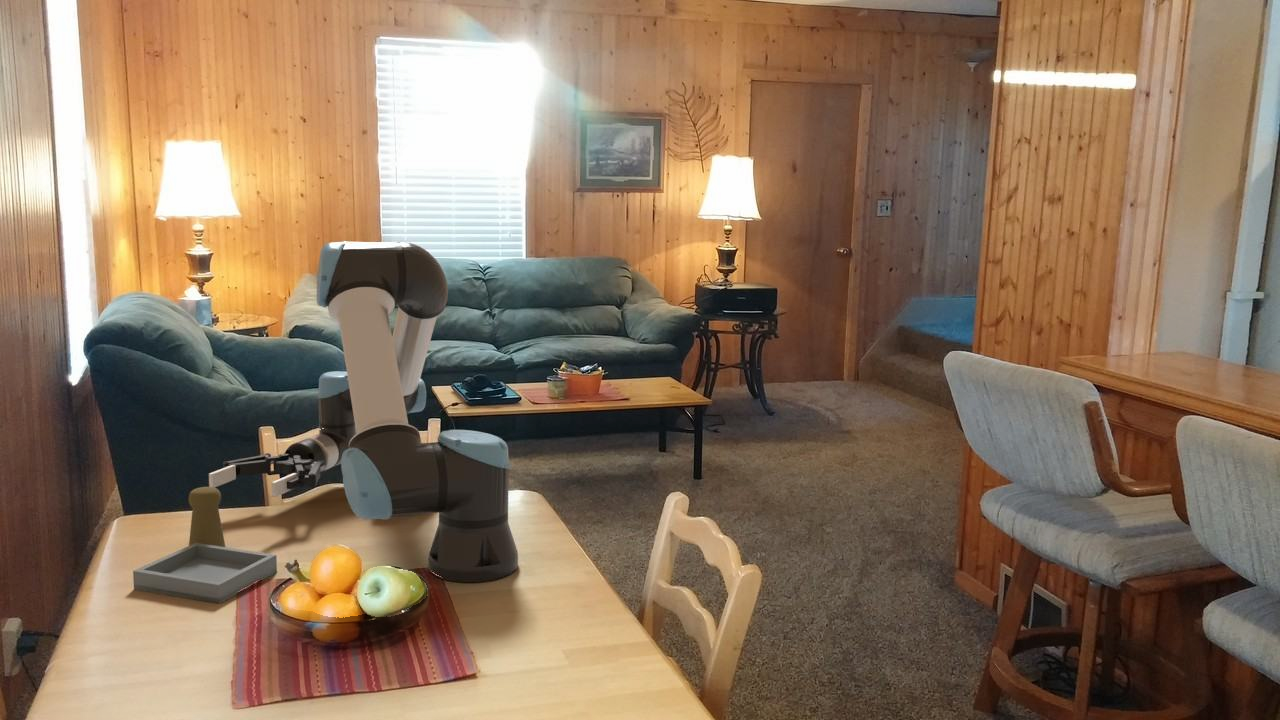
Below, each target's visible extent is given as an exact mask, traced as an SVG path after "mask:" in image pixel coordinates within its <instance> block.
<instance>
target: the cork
mask: <svg viewBox="0 0 1280 720" xmlns="http://www.w3.org/2000/svg"><path fill="white" fill-rule="evenodd" d="M221 501H222V494H221V491H220V490H219V489H218V488H216V487H215V488H214V487H209V486H201V487H197V488H194V489H192V490H191V491H190V493H189V495H188V503H189V504H188V505H189V506H190V507H191V508H192V511H191V521H190V529H189V530H190V531H189V540H188V546H190V545H192V544H194V543H200V544H207V545H214V546H220V547H226V544H225V543H226V542H225V538H224V537H225V536H224V531H223V527H222V521H221V517H220V515H221V514H220V511H219V505H220V503H221Z"/></svg>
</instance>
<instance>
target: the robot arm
mask: <svg viewBox="0 0 1280 720" xmlns="http://www.w3.org/2000/svg"><path fill="white" fill-rule="evenodd" d="M316 280H317V281H316V303H317V306H319V307H322V308H327V311H328V315H329V317H331V319H332V320H333V321H334V322H336V323H338V324H339V330H340V336H341V341H342V342H341V343H342V349H343V350H342V351H343V356H344V357H343V358H344V361H345V368H346V371H340V370H336V371H327V372H323V373H322V374H321V375H320V377H319V378H318V394H317V398H318V418H319V419H318V434H315V435H313V436H309V437H307V438H305V439H302V440H299V441H297V442H293V443H292V444H290V445H289V446H288V447H287V449H286V450H285V452H284V453H281V454H278V455H276V456H275V455H274V456H272V455H271V453H268V452H267V453H264V454H260V455H256V456H251V457H244V458H238V459H233V460H228V461H227V460H225V461H223V462H222V463H223V464H222V465H223V468H221V469H217V470H215V471H212V472H210V473H208V487H214V488H216V487H219V486H223V485H224V484H227V483H229V482H234V480H236V479H237V478H239V477H247V476H248V477H249V476H255V475H263V474H266V475H267V476H275V475H282V476H283V475H284V477H281V478H279V479H277V480H273V481H272V482H271V497H273V498H277V497H279V496H281V495H284V494H285V493H287V492H290V491H293V490H294V489H296V488H298V487H300V488H304V487H306V485H308V487H309V488H315V487H316V486H317V484H318V482H319V479H320V478H321V476H323V475H325V474H326V471H327V470H329V469H331V468H333V467H336V466H338V465H340V468H341V469H340V470H341V475H342V482H343V483H342V485H343V488H344V492H345V496H346V499H347V502H348V505H349V508H351V511H352V512H353V513H354V514H355V515H356V516H357V517H358V518H360V519H362V520H366V521H367V520H380V519H381V520H384V521H385V520H389V519H392V518H393V519H394V518H395V519H396V518H403V517H410V516H411V517H412V516H418V515H419V516H420V515H427V514H428V515H429V514H437V513H438V525H437V529H436V531H435V534H434V538H433V540H432V542H431V543H432V544H431V547H430V550H429V553H428V568H427V569H428V570H429V569H430V570H431V571H432V572H434V573H435V574H437V575H439V576H441V577H442V578H443V579H442V578H441V579H442V580H446V581H451V582H457V583H483V582H489V581H495V580H499V579H502V578H505V577H507V576H509V575H508V574H510V573H511V572H513V571H514V570H515V569H516V568H517V569H518V567H519V553H518V549H517V545H516V542H515V540H514V537H513V534H512V530H511V528H510V525H509V478H510V477H509V476H510V475H509V474H510V472H509V471H510V469H511V468H510V467H511V465H510V460H509V447H508V444H507V442H506V441H505V440H503V438H501V437H499V436H497V435H494V434H491V433H487V432H482V431H477V430H469V429H468V430H467V429H448V430H443V431H441V432H440V433H439V435H438V436H437V441H434V442H422V440H421V439H422V438H421V434H420V431H419V430H418V428H416V427H415V426H413V425H412V424H409V421H408V420H409V419H408V414H411V413H418V412H419V413H420V412H422V411H423V410H424V409H425V407H426V406H427V405H426V403H427V389H426V384H425V382H424V380H423V379H422V378H421V377H422V373H423V369H424V367H425V364H426V363H425V362H426V358H427V355H428V352H429V347H430V344H431V339H432V335H433V333H434V329H435V325H436V321H437V318H438V317H439V316H441V314H443V312H444V310H445V309H446V304H447V301H448V297H449V296H448V293H449V288H448V281H447V278H446V275H445V272H444V270H443V268H442V266H441V264H440V263H439V262H438V260H437V259H436V258H435V257H434V256H433V255H432V254H430V252H429V251H428V250H426V249H425V248H423V247H421V246H419V245H418V244H414V243H412V242H406V241H397V242H389V241H386V242H385V241H383V242H382V241H380V242H379V241H378V242H377V241H376V242H375V241H369V242H368V241H348V240H344V241H337V242H335V241H334V242H333V241H332V242H327V243H325V244H324V245H323V246H322V247H321V249H320V252H319V260H318V269H317V277H316ZM395 306H396V307H398V309H397V315H396V318H395V322H394V327H393V332H392V329H391V323H390V317H389V316H390V315H391V314H392V313H393V311H394V310H395ZM322 428H324V429H322ZM319 429H321V430H319ZM272 466H273V470H271V469H272V468H271V467H272ZM285 475H286V476H285ZM517 566H518V567H517ZM517 569H516V570H517ZM516 570H515V571H516ZM515 571H514V572H515ZM514 572H513V573H514ZM511 574H512V573H511ZM511 574H510V575H511ZM506 575H507V576H506ZM504 576H505V577H504ZM501 577H502V578H501ZM498 578H499V579H498Z"/></svg>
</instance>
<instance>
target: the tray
mask: <svg viewBox="0 0 1280 720" xmlns="http://www.w3.org/2000/svg"><path fill="white" fill-rule="evenodd" d="M277 557H278V556H277V554H275V553H274V554H272V553H268V552H267V553H266V552H258V551H252V550H248V549H247V550H246V549H239V548H232V547H226V546H225V547H220V546H214V545H207V544H200V543H194V544H192V545H190V546H189V545H187V546H185V547H183V548H181V549H179V550H176V551H175V552H174V551H173V552H172V553H170V554H167V555H165V556H164V557H160V558H159V559H157V560H155V561H152V562H150V563H148V564H146V565H142V566H141V567H139V568H136V569H135V570H133V571H132V574H133V575H132V576H133V577H132V578H133V590H136V591H143V592H149V593H155V594H160V595H166V596H173V597H177V598H185V599H188V600H189V599H191V600H196V601H201V602H208V603H214V604H221V603H224V602H225V601H226V600H228V599H231V598H232V597H234V596H236V595H238V594H239V593H238V591H240V590H241V589H243V588H245V587H248V586H249V585H251V584H253V583H254V582H256V581H258V580H262V581H264V580H265V579H267V578H269V577H271V576H273V575H274V574H276V573H277V572H278V569H277V568H278V566H277V565H278V563H277ZM237 593H238V594H237Z"/></svg>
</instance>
